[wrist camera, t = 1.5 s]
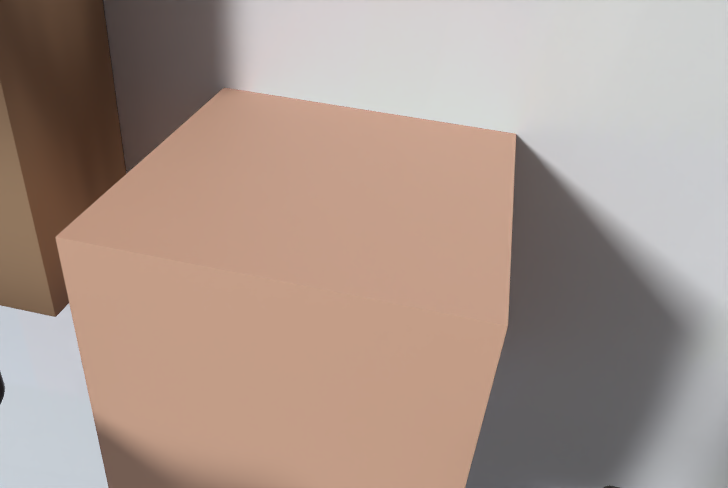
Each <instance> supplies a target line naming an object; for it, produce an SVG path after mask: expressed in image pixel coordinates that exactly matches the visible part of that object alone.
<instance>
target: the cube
mask: <svg viewBox="0 0 728 488" xmlns="http://www.w3.org/2000/svg"><path fill="white" fill-rule="evenodd" d="M515 148H516V134H514V133H508V132H501V131H495V130H489V129H482V128H476V127H470V126H463V125H457V124H451V123H444V122H438V121H432V120H426V119H419V118H413V117H407V116H400V115H394V114H388V113H381V112H375V111H369V110H363V109H356V108H350V107H344V106H337V105H331V104H325V103H318V102H312V101H306V100H300V99H293V98H287V97H281V96H274V95H268V94H262V93H255V92H249V91H243V90H237V89H230V88H223V89H222V90H221V91H219V92H218V93H217V94H216V95H215V96H214V97H213V98H212V99H210V100H209V101H208V102H207V103H206V104H205V105H204V106H203V107H201V108H200V109H199V110H198V111H197V112H196V113H195V114H194V115H192V116H191V117H190V118H189V119H188V120H187V121H186V122H185V123H183V124H182V125H181V126H180V127H179V128H178V129H177V130H175V131H174V132H173V133H172V134H171V135H170V136H169V137H168V138H166V139H165V140H164V141H163V142H162V143H161V144H160V145H159V146H157V147H156V148H155V149H154V150H153V151H152V152H151V153H150V154H148V155H147V156H146V157H145V158H144V159H143V160H142V161H140V162H139V163H138V164H137V165H136V166H135V167H134V168H133V169H131V170H130V171H129V172H128V173H127V174H126V175H125V176H124V177H122V178H121V179H120V180H119V181H118V182H117V183H116V184H115V185H113V186H112V187H111V188H110V189H109V190H108V191H107V192H105V193H104V194H103V195H102V196H101V197H100V198H99V199H98V200H96V201H95V202H94V203H93V204H92V205H91V206H90V207H89V208H87V209H86V210H85V211H84V212H83V213H82V214H81V215H80V216H78V217H77V218H76V219H75V220H74V221H73V222H72V223H71V224H69V225H68V226H67V227H66V228H65V229H64V230H63V231H61V232H60V233H59V234H58V235H57V236H56V237H55V238H56V243H57V248H58V252H59V257H60V262H61V266H62V271H63V276H64V280H65V285H66V290H67V294H68V299H69V304H70V309H71V313H72V318H73V323H74V327H75V332H76V337H77V341H78V346H79V351H80V355H81V360H82V365H83V370H84V374H85V379H86V384H87V388H88V393H89V398H90V402H91V407H92V412H93V416H94V421H95V426H96V431H97V435H98V440H99V445H100V449H101V454H102V459H103V463H104V468H105V473H106V477H107V482H108V487H109V488H465V486H466V482H467V478H468V474H469V471H470V467H471V463H472V459H473V456H474V452H475V448H476V444H477V441H478V437H479V433H480V429H481V426H482V422H483V418H484V414H485V410H486V407H487V403H488V399H489V395H490V392H491V388H492V384H493V380H494V377H495V373H496V369H497V365H498V362H499V358H500V354H501V350H502V347H503V343H504V339H505V335H506V332H507V328H508V315H509V291H510V267H511V244H512V220H513V196H514V172H515Z"/></svg>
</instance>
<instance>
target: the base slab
mask: <svg viewBox="0 0 728 488" xmlns="http://www.w3.org/2000/svg"><path fill="white" fill-rule="evenodd" d="M125 175H126V169H125V162H124V154H123V147H122V140H121V132H120V125H119V118H118V110H117V103H116V95H115V88H114V81H113V73H112V66H111V58H110V51H109V44H108V36H107V29H106V22H105V14H104V7H103V0H0V305H2V306H6V307H11V308H16V309H21V310H25V311H30V312H35V313H40V314H44V315H49V316H54V317H56V316H57V315H58V314H59V313H60V312H61V311H62V310H63V309H64V308H65V306H66V305H67V304H68V303H69V299H68V294H67V290H66V285H65V280H64V276H63V271H62V266H61V262H60V257H59V252H58V248H57V243H56V238H55V237H56V236H57V235H58V234H59V233H60V232H61V231H63V230H64V229H65V228H66V227H67V226H68V225H69V224H71V223H72V222H73V221H74V220H75V219H76V218H77V217H78V216H80V215H81V214H82V213H83V212H84V211H85V210H86V209H87V208H89V207H90V206H91V205H92V204H93V203H94V202H95V201H96V200H98V199H99V198H100V197H101V196H102V195H103V194H104V193H105V192H107V191H108V190H109V189H110V188H111V187H112V186H113V185H115V184H116V183H117V182H118V181H119V180H120V179H121V178H122V177H124V176H125Z"/></svg>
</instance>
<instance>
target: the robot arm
mask: <svg viewBox="0 0 728 488" xmlns="http://www.w3.org/2000/svg"><path fill="white" fill-rule="evenodd" d="M4 392H5V386H4V382H3V379H2V375H1V372H0V404H1V402H2V399H3V397H4ZM604 488H619V487H615V486H605V487H604Z"/></svg>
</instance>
